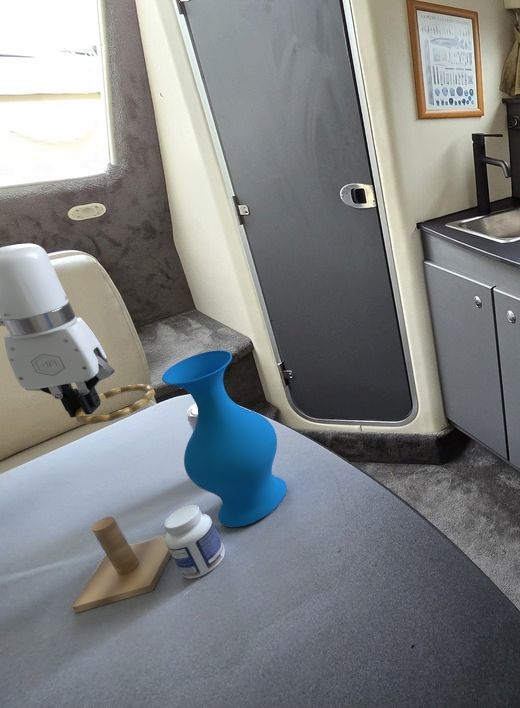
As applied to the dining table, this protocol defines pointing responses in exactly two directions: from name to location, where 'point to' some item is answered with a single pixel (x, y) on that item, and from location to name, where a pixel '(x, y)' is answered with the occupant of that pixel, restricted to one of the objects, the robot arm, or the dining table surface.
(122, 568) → the wooden base with post
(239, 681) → the dining table surface
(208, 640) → the dining table surface
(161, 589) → the dining table surface
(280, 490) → the vase
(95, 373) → the robot arm
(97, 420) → the ring
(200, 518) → the pill bottle
